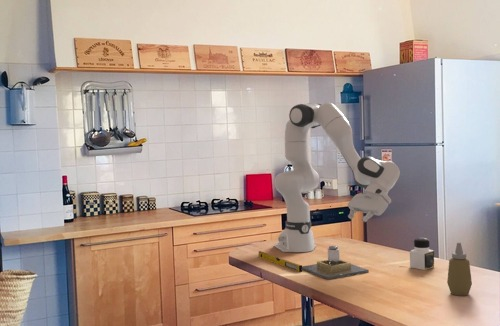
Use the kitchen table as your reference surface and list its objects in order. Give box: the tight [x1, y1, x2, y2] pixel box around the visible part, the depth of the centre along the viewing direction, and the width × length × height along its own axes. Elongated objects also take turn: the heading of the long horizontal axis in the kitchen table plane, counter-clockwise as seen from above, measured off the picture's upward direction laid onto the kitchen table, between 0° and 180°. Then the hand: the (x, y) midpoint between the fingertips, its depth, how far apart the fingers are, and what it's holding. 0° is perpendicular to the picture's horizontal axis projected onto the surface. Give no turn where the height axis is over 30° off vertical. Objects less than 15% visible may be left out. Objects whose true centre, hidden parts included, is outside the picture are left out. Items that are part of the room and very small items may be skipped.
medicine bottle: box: [409, 237, 435, 271], centre depth 233 cm, size 7×7×12 cm
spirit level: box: [258, 250, 303, 273], centre depth 247 cm, size 33×1×3 cm, turn 29°
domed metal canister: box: [327, 245, 341, 266], centre depth 233 cm, size 5×5×9 cm
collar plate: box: [302, 259, 369, 280], centre depth 233 cm, size 20×20×4 cm
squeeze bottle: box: [446, 242, 473, 297], centre depth 196 cm, size 8×8×18 cm
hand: (356, 219), depth 237 cm, fingers open, 8 cm apart
